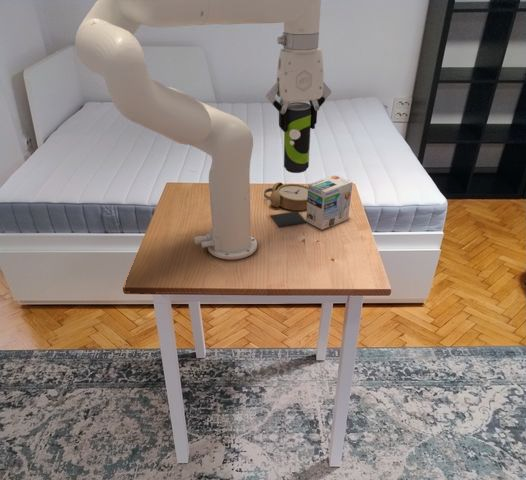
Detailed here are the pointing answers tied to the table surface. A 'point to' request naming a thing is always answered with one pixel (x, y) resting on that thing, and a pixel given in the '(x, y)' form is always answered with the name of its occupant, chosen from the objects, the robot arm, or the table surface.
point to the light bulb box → (328, 201)
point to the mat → (288, 219)
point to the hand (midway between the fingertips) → (297, 128)
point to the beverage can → (297, 137)
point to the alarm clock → (288, 196)
